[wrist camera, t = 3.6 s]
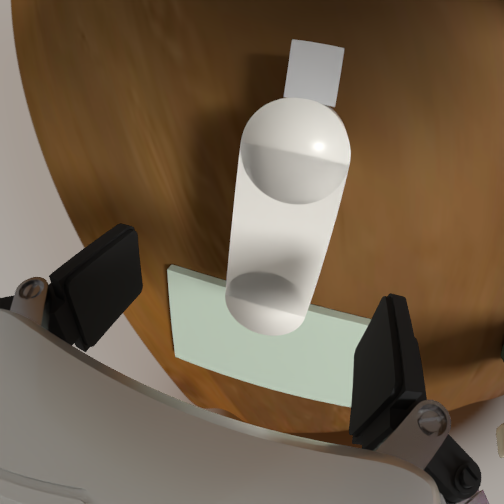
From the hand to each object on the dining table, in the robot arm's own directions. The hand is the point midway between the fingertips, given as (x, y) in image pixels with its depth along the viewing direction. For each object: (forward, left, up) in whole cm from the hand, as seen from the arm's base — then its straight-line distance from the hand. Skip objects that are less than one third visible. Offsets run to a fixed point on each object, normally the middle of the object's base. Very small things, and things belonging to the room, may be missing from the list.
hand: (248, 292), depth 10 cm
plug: (0, -2, -10) cm, 10 cm away
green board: (-1, +14, -10) cm, 17 cm away
